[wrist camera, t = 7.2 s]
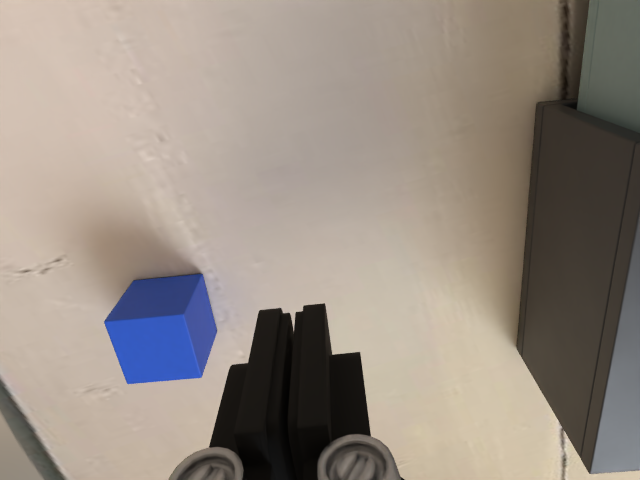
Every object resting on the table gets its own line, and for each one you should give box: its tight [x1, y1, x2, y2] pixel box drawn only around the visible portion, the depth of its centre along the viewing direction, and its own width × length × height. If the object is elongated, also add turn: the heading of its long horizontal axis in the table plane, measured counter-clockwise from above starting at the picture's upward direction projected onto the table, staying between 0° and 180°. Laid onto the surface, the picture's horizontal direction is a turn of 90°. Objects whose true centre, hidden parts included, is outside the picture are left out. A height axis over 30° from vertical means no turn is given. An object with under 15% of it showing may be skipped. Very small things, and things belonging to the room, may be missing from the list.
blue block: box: [104, 274, 217, 384], centre depth 25 cm, size 4×4×4 cm
